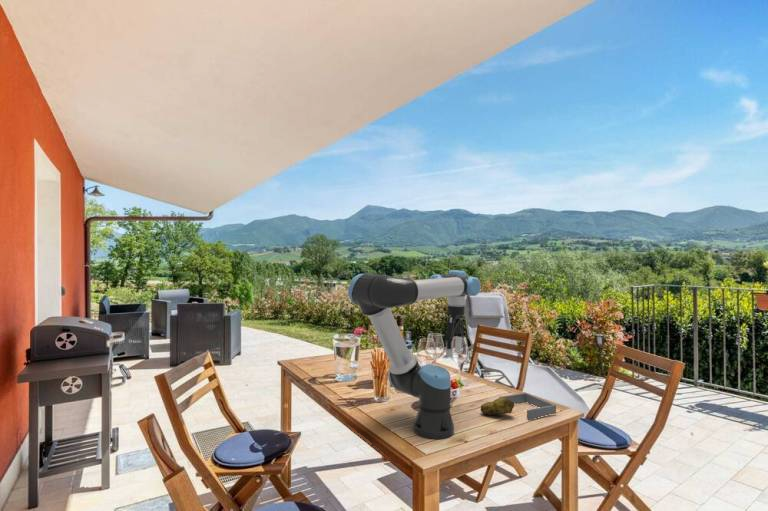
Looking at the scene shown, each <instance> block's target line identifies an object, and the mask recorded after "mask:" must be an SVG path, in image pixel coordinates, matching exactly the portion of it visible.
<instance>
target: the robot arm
mask: <svg viewBox="0 0 768 511" xmlns="http://www.w3.org/2000/svg"><path fill="white" fill-rule="evenodd" d="M481 287H482V286H481V281H480V279H479V278H477V277H475V276H467V274H466V271H464V270H457V269H456V270H455V269H454V270H452V269H451V270H449V271H448V274H433V275H431V276H429V278H424V279H413V278H412V277H401V276H400V277H398V276H393V275H388V274H387V275H386V274H373V273H372V274H371V273H368V272H366V273H359V274H357V275H355V276H353V278H352V279H351V280H350V282H349V284H348V288H347V294H348V298H349V300H350V301H351V302H352V303H353V304H355V305H358V306H359V309H360V311H361V313H362V314H363V316H366V317H368V318H369V320H370V322H371V324H372V325H371V326H373V330H374V331H375V332H376V335H377V338H378V339H379V342H380V344H381V347H382V348H383V350H384V352H385V355H386V356H387V359H388V361H389V363H390V364H389V366H388V367H389V368H388V375H387V376H388V381H389V384H390V386H392V387H393V389H395V390H396V391H398V392H401V393H404V394H406V395H410V396H412V397H415V398H416V399H418V410H417V413H416V416H415V419H414V421H413V431H414V433H415V434H416V435H418V436H420V437H423V438H427V439H432V440H443V439H447V438H450V437H452V436H453V435H454V434H455V425H454V422H453V418H452V414H451V391H452V390H451V386H452V382H451V373H450V371H449V370H447V369H446V368H445V367H442V366H440V365H434V364H425V365H422V366H421V365H420V363H419V361H418V359H417V356H416V355H414V354H412V353H410V350H409V348H408V346H407V344H406V341H405V339H404V337H403V335H402V332H401V330H400V327H399V326H398V324H397V321H396V319H395V317H394V315H393V312H392V310H391V308H398V307H403V306H408V305H409V306H410V305H414V304H415V303H416V302H418V301H427V300H435V299H444V298H447V306H446V314H448V315H450V317H448V318H447V325H446V331H445V337H444V341H445V342H446V347H445V350H446V351H445V353H446V354H445V356H446V357H450V358H453V357H454V356H453V351H456V352H462V346H463V344H462V343H463V342H462V341H463V338H464V337H465V334H464V325H463V316H464V315H465V301H467V299H466V296H469V297H475V296H478V294H480V291H481ZM455 334H456V335H455ZM454 336H455V341H454ZM454 342H455V343H454ZM454 344H455V345H454ZM454 346H455V347H454Z"/></svg>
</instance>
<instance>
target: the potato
mask: <svg viewBox="0 0 768 511" xmlns="http://www.w3.org/2000/svg"><path fill="white" fill-rule="evenodd" d="M514 408H515V404H514V403H513V401H512V400H510V399H509V398H507V397H503V398H499V397H498V398H496V399H494V400H493V401H489V402H485V403H483V404H481V405H480V412H481V413H482V414H484V415H489V416H502V415H506V414H512V411H513V409H514Z"/></svg>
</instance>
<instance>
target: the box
mask: <svg viewBox="0 0 768 511" xmlns="http://www.w3.org/2000/svg"><path fill="white" fill-rule="evenodd" d="M503 397H507V398H509V399H510V400H512V401H513V403H518V404H521V403H520V402H524V403H526V402H528V403H530V404H533V405H535V406H537V407H540V408H537V407H535V406H534V407H535V408H529V409H527V411H526V420H527V419H528V420H527V421H531V420H530V419H533V420H535V419H534V418H538V417H541V416H545V415H549V414H554V413H556V414H557V405H556V404H555V403H551V402H549V401H546V400H545V399H542V398H539V397H537V396H534V395H532V394H530V393H527V392H521V393H515V394H510V395H503V396H499V397H498V398H503ZM528 403H527V404H528ZM530 404H529V405H530ZM533 405H532V406H533ZM538 419H539V418H538Z"/></svg>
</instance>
